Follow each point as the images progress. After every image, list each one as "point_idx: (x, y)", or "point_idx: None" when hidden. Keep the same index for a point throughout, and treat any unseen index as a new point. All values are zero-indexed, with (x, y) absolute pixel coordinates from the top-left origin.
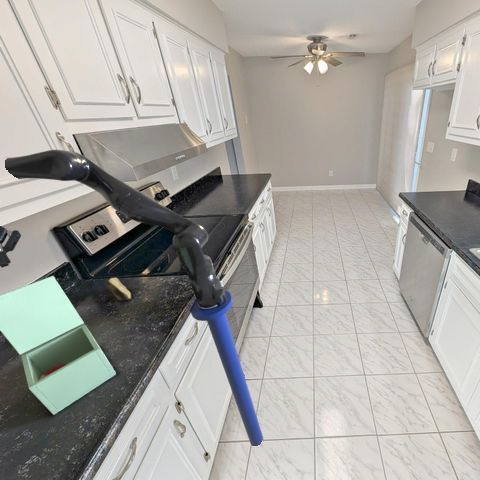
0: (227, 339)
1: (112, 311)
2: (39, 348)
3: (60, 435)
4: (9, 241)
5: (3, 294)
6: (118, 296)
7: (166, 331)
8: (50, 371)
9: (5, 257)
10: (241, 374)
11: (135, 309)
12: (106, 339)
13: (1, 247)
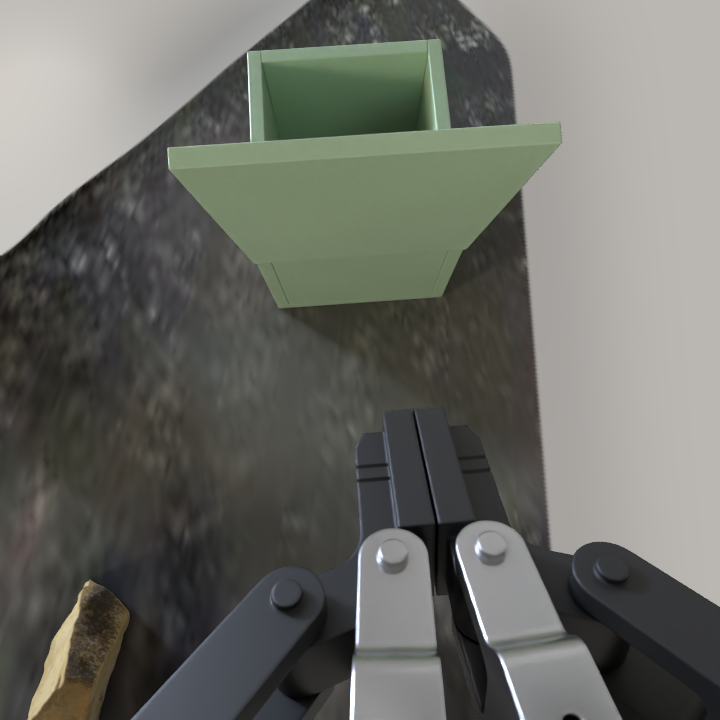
0: None
1: (182, 539)
2: None
3: None
4: (227, 679)
5: (442, 129)
6: (114, 617)
7: (89, 200)
8: None
9: (375, 477)
10: None
11: (108, 458)
12: (252, 343)
13: (361, 590)
